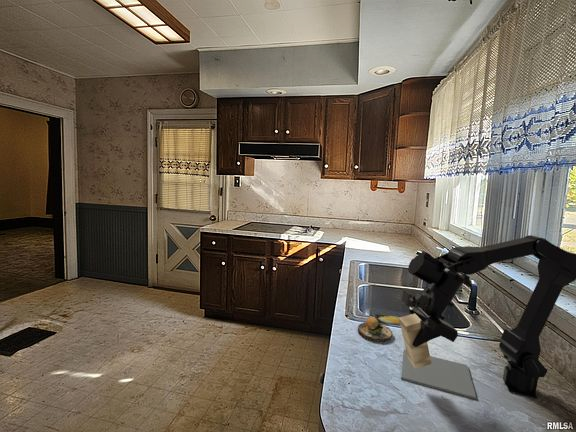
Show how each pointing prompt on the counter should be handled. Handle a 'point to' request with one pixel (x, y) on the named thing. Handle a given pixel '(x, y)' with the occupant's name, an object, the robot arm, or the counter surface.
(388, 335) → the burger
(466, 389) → the mat
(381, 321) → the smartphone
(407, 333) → the block
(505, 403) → the counter surface
